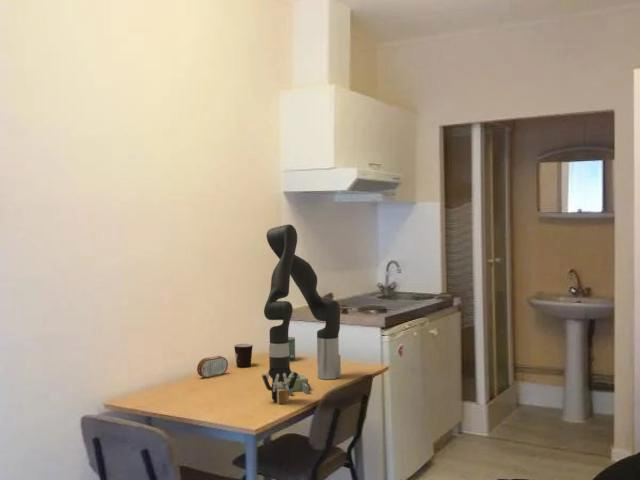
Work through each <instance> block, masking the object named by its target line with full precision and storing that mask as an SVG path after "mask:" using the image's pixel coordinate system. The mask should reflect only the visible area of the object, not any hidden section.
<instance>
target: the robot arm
mask: <svg viewBox="0 0 640 480" xmlns="http://www.w3.org/2000/svg"><path fill="white" fill-rule="evenodd" d="M266 240H267V243H268V245H269V247H270V249H271V250H272V251H273V253H274V254H275V255H276V257H277V258H278V259H279V260H278V262H277V263H276V266H274V267H275V268H274V269H273V271H272V274H271V279H270V290H269V294H268V297H267V301H266V302H265V305H264V309H263V315H264V317H265V318H266V319H267V320H268V321H282V323H281V324H280V325H275V326H272V327H270V328H269V347H268V352H269V353H268V354H269V355H268V358H269V364H268V365H269V369H268V372H267V373H265V374H262V375H261V379H262V381H263V383H264V385H265V387H266V388H265V389H267V391H268V392H269V391H270V392H271V399H272V400H273V401H274V402H276V387H277V384H278V382H283V385H284V387H285V388H286V389H288V398H289V397H290V396H289V389H291V388H293V387H294V384H295V381H296V378H297V375H298V372H296V371H293V370H292V369H291V367H290V363H291V362H290V358H289V354H290V351H289V342H288V337H289V329H290V323H291V319H292V315H293V310H294V307H293V305H292V303H291V302H290V301H288V300H280V299H284V298H286V297H288V296H289V294H290V283H291V281H290V280H291V279H292V280H293V282H294V283H295V285H296V287H297V288H298V290H299V291H300V293H301V295H302V296H303V298H304V300H305V301H306V303H307V305H308V308H309V310H310V312H311V315H312V316H313V318H314V319H315V320H317V321H319V322H325V325H324V327H323V328H322V329H321V328H320V329H318V330H317V332H316V353H317V354H316V356H317V357H316V359H317V360H316V361H317V362H316V363H317V378H318V379H320V380H335V379H338V378H339V379H340V378H341V377H342V372H341V371H342V369H341V366H342V365H341V354H339V353H340V351H339V350H340V349H339V348H340V347H339V346H340V345H339V340H340V339H339V335H340V330H341V307H340V304H339V302H338V301H337V300H334V299H323V298H322V297H321V295H320V294H319V293H318V290H317V287H318V276H317V274H316V272H315V270H314V268H313V267H312V265H311V264H310V263H309V262H308V261H306V260H305V259H303V258H302V257H300V256H298V255H297V254H295V253H296V249H297V244H298V233H297V229H296V228H295V226H293V225H292V224H284V225H279V226H276V227H272V228H270V229H268V231H266ZM290 374H291V380H290V383H289V385H288V381H287V378H288V377H289V375H290ZM270 378H271V379H272V380H271V385H270V382H269V379H270Z"/></svg>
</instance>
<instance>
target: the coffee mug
mask: <svg viewBox="0 0 640 480" xmlns="http://www.w3.org/2000/svg"><path fill="white" fill-rule="evenodd" d="M233 348H234V354H235V356H234V357H235V362H236V368H237V369H247V368H248V369H249V368H251V366H252V356H253V344H252V343H238V344H234V345H233Z"/></svg>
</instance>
